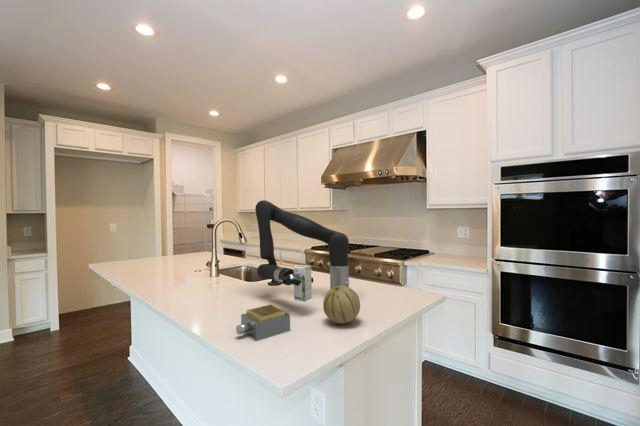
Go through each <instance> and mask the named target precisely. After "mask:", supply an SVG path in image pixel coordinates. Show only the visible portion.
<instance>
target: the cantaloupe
mask: <svg viewBox="0 0 640 426" xmlns="http://www.w3.org/2000/svg"><path fill="white" fill-rule="evenodd" d="M322 307H323V311H324V314H325V315H326V317H327V319H328V320H330V321H331V322H332V323H335V324H337V325H338V324H339V325H345V324H349V323H351V322H352V321H353V320H356V318H357V317H358V316H359V313H360V310H361V301H360V297H359V296H358V294H357V292H356V291H355V290H354V289H353V288H352V287H350V286H349V287H347V286H336V287H333V288H332V289H330V288H329V290H328V291H327V292H326V293H325V295H324V298H323V302H322Z"/></svg>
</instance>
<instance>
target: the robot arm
mask: <svg viewBox="0 0 640 426" xmlns="http://www.w3.org/2000/svg"><path fill="white" fill-rule="evenodd" d="M254 211H255V215H256V220H257V227H258V234H259V235H258V237H259V257H260V259H262V260H267V262H268V263H262V264H259V266H258V267H257V268H256V274H257V275H258V277H260V278H261V279H264V280H273V281H276V282H278V283H280V284H282V285H286V286H294V285H297V286H299V280H296V279H294V268H289V267H285V266H279V265H278V263H277V260H276V257H275V246H274V238H273V235H272V230H271V222H275V223H277V224H280V225H282V226H283V227H285V228H286V229H287V230H289V231H291V232H293V233H295V234H297V235H300V236H302V237H305V238H307V239H311V240H312V239H313V240H317V241H320V242H323V243H325V245H326V244H327V245H328V254H329V256H328V257H329V258H328V259H329V283H330V284H329V290H330V289H332V288H333V287H336V286H347V287H350V279H349V256H348V255H349V254H348V253H349V252H348V251H349V249H348V247H349V243H350V241H349V237H348V236H347V234H345V233H343V232H339V231H337V230H332V229H330V228H328V227H325V226H324V225H321V224H320V223H317V222H316V221H313V220H312V219H309V218H307V217H305V216H303V215H299V214H297V213H293V212H289V211H287V210H285V209H282V208H280V207H278V206H277V205H275V204H273V203H272V202H270V201H268V200H264V199H263V200H262V199H261V200H260V201H258V202H257V203H256V204H255V210H254ZM311 282H312V284H313V283H314V277H313V276H311Z"/></svg>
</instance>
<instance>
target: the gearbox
mask: <svg viewBox="0 0 640 426" xmlns="http://www.w3.org/2000/svg"><path fill="white" fill-rule="evenodd" d="M245 312H246V313H242V314H241V315H240V319H241V320H240V323H241V324H238V325H236V327H235V331H236V334H237V335H242V334H246V335H247V336H249V337H250V338H251V339H252V340H254V341H255V342H257V341H261V340H264V339H268V338H270V337H274V336H278V335H280V333H281V334H283V332H284V333H287V332H290V331H291V314H290V313H288V312H286V311H285V310H283V309H281V308H279V307H277V306H275V305H273V304H267V305H263V306H262V305H261V306H258V307H255V308H253V307H252V308H250V309H249V308H248V309H246V311H245ZM289 330H290V331H289ZM286 331H287V332H286ZM267 337H268V338H267Z"/></svg>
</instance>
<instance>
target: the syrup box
mask: <svg viewBox="0 0 640 426" xmlns="http://www.w3.org/2000/svg"><path fill="white" fill-rule="evenodd" d="M293 270H294V279H296V280H299V286H297V285H294V284H293V299H294V301H297V302H303V303H305V302H308V301H310V300H311V299H313V297H312V296H313V295H312V294H313V292H312V290H313V289H312V288H313V287H312V284H313V283H312V282H311V277H312V265H306V264H305V265H303V264H298V265H295V266H293Z"/></svg>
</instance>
